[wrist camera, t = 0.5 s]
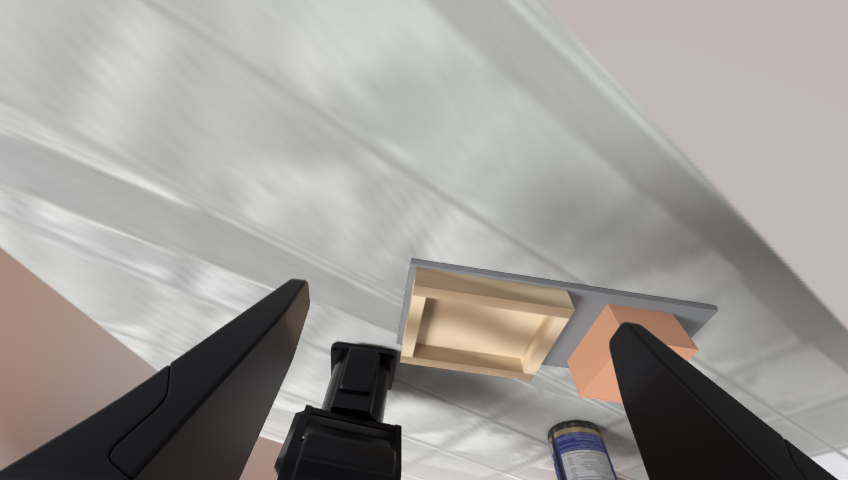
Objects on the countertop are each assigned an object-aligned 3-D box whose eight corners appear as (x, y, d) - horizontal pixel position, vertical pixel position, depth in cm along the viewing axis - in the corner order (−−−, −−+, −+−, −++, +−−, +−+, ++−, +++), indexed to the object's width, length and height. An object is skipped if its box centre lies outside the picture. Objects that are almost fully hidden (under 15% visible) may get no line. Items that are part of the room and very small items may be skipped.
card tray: (526, 360, 31) (530, 380, 30) (402, 342, 31) (399, 362, 29) (566, 289, 26) (575, 309, 24) (416, 266, 25) (414, 285, 24)
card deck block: (622, 369, 31) (640, 405, 29) (567, 361, 31) (579, 396, 28) (672, 313, 27) (699, 349, 24) (607, 303, 26) (626, 339, 24)
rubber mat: (646, 374, 33) (649, 379, 32) (397, 338, 31) (396, 343, 31) (712, 305, 27) (717, 310, 26) (411, 258, 26) (410, 263, 25)
